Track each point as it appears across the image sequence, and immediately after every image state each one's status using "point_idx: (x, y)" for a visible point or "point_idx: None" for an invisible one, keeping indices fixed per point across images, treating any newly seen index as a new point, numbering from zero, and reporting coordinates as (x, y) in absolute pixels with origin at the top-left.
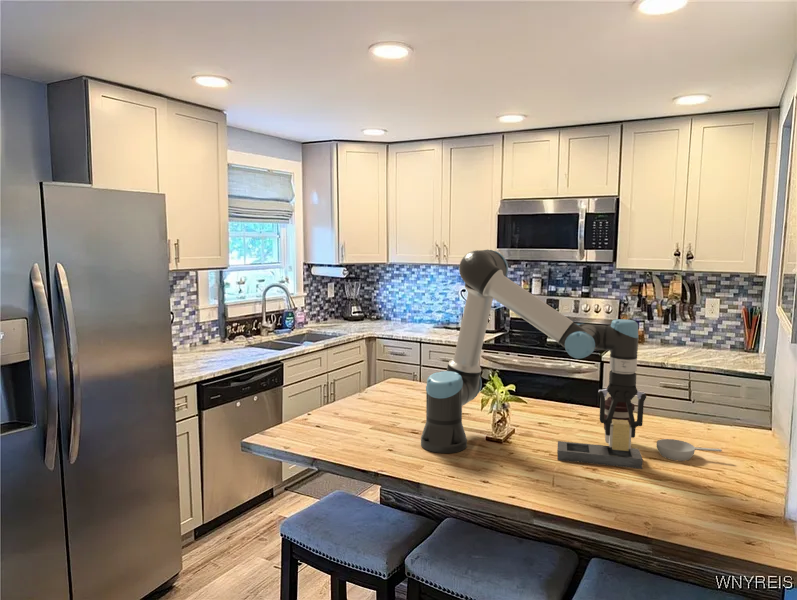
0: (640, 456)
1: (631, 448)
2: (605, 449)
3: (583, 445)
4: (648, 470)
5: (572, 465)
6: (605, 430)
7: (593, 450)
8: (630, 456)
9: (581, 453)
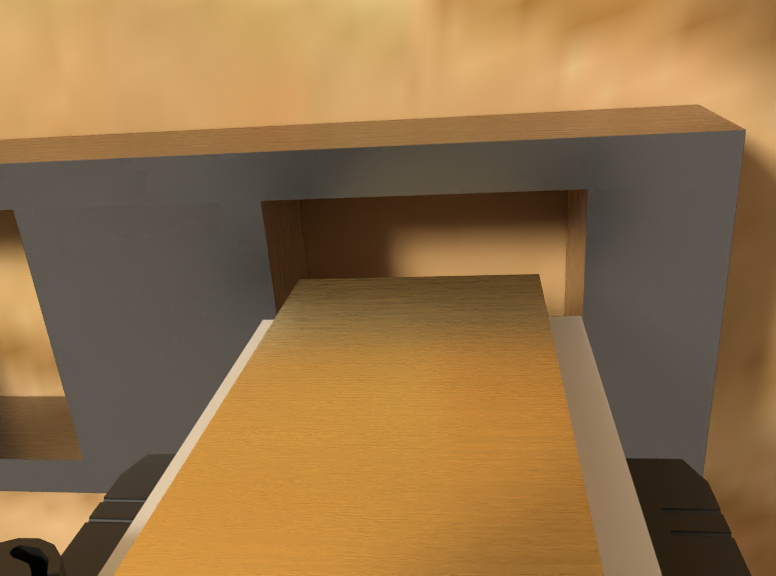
0: (692, 431)
1: (626, 156)
2: (247, 310)
3: None
4: (728, 445)
5: (15, 500)
6: (105, 504)
7: (111, 383)
8: (574, 303)
9: (10, 489)
